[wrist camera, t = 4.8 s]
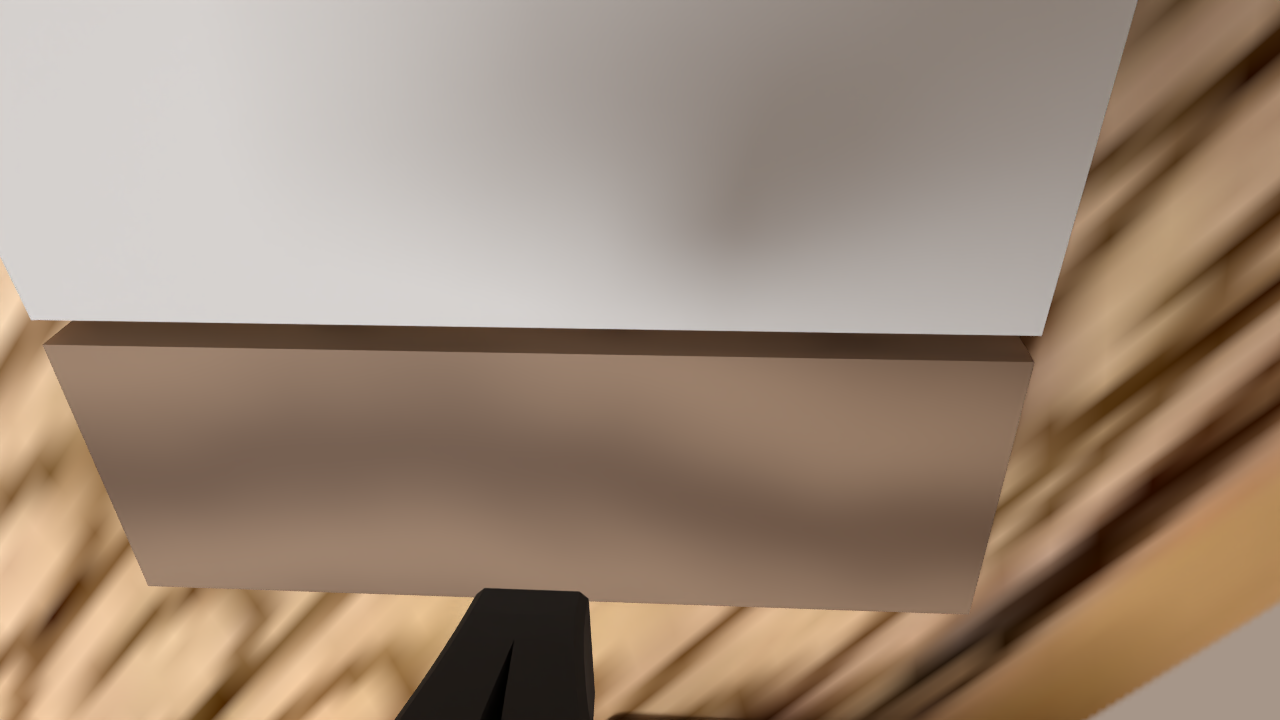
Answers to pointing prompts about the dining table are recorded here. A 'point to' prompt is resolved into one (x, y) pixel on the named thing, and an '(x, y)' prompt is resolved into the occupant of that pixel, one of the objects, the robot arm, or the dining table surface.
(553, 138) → the grey plank
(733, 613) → the dining table surface
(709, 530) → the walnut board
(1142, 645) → the dining table surface
